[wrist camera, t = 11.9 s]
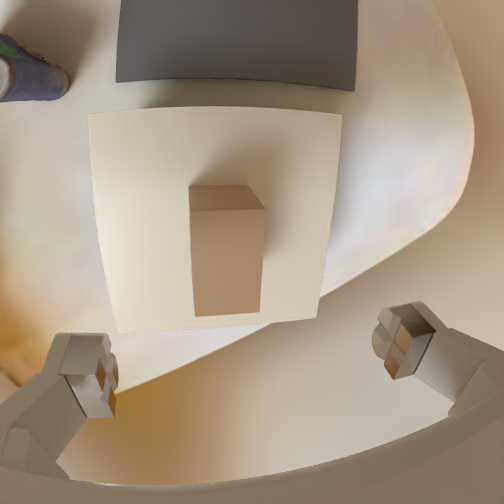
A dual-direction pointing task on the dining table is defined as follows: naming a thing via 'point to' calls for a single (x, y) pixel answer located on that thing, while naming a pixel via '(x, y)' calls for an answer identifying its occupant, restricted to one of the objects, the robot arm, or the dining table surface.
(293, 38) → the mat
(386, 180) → the dining table surface
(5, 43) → the flask
